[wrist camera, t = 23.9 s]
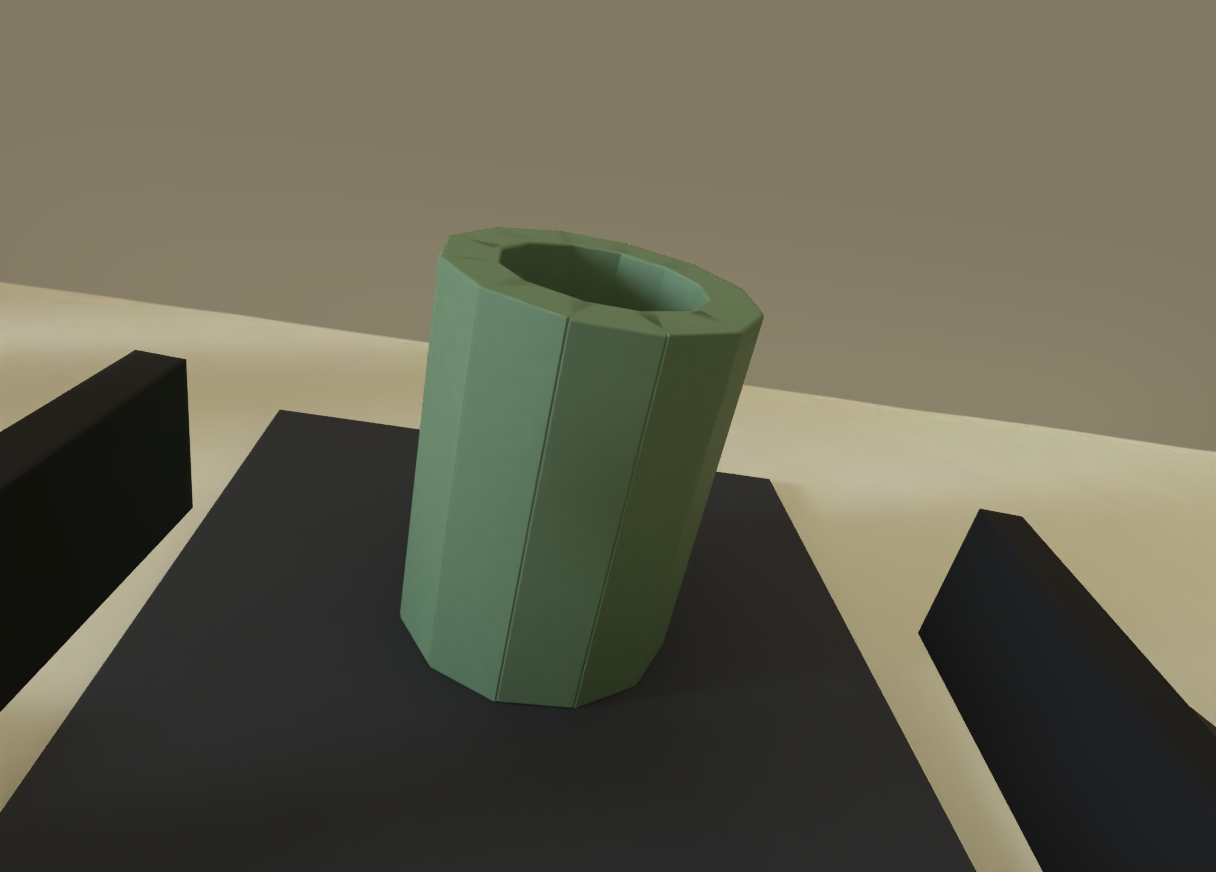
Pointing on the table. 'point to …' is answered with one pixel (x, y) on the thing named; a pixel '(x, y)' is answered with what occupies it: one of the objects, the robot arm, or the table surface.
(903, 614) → the table surface
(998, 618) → the robot arm
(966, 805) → the table surface
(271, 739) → the placemat
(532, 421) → the hollow cylinder
